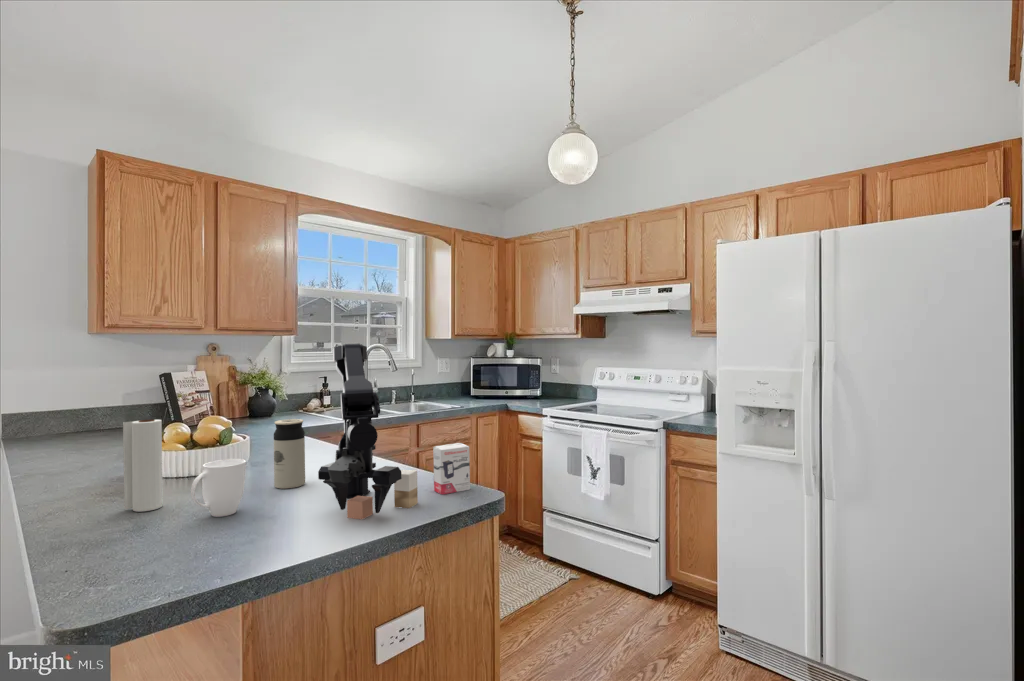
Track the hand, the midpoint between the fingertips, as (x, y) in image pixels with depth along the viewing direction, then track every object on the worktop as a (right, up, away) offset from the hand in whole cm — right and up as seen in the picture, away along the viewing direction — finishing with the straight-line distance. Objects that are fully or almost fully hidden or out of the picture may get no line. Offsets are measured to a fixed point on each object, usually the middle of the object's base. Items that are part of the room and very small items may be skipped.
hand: (360, 511), depth 121 cm
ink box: (+19, -1, +20) cm, 27 cm away
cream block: (+9, +3, +8) cm, 12 cm away
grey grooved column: (-54, -2, +8) cm, 55 cm away
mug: (-33, -2, +2) cm, 33 cm away
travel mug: (-27, -2, +28) cm, 39 cm away
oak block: (+9, -1, +7) cm, 12 cm away
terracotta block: (0, -1, 0) cm, 1 cm away
